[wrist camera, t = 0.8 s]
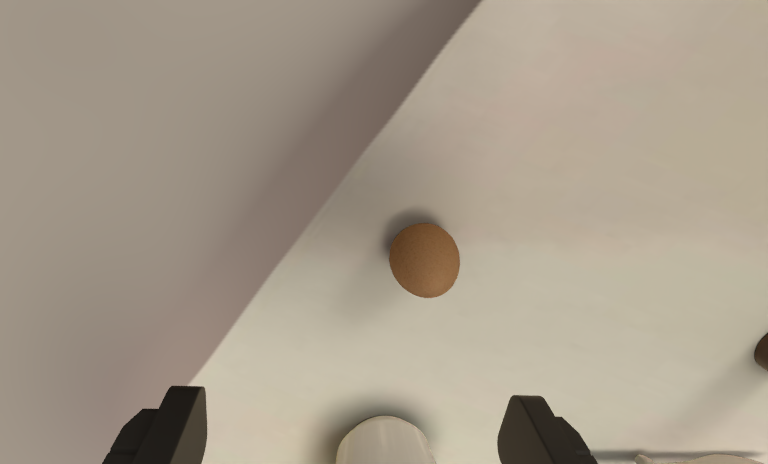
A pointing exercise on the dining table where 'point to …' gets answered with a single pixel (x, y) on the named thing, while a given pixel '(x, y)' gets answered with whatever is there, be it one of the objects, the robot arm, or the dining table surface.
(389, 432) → the mug
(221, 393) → the dining table surface
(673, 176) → the dining table surface
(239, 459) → the dining table surface
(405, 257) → the egg
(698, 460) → the knife
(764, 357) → the pepper grinder
